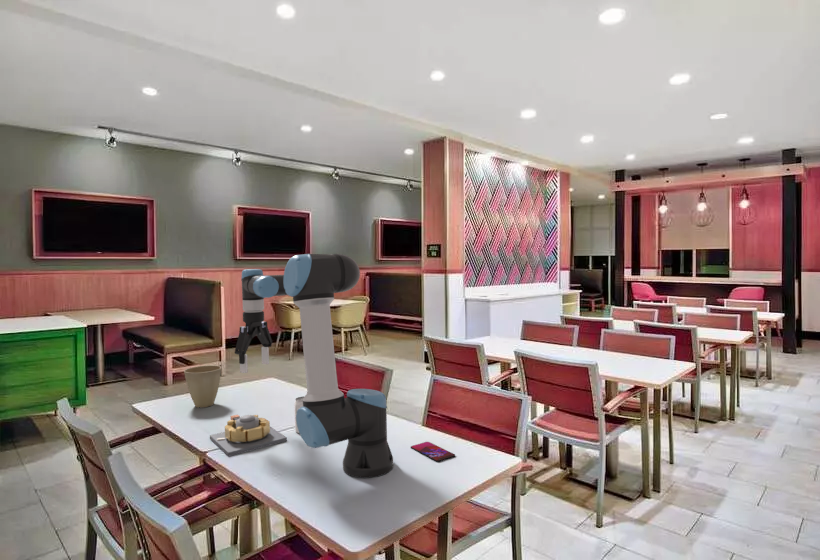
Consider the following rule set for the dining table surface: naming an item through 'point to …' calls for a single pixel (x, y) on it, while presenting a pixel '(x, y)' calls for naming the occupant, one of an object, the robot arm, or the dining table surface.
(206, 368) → the plant pot
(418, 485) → the dining table surface
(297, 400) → the can
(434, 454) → the smartphone
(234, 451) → the base
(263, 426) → the ring nut
